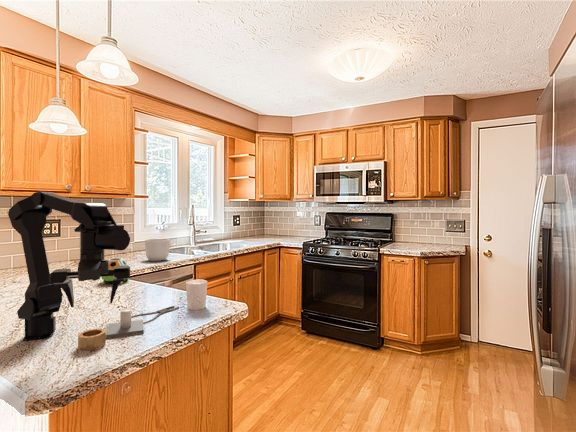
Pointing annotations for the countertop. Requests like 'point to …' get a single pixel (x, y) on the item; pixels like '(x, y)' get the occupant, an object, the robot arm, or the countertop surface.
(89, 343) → the ring
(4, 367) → the countertop surface
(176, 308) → the pliers
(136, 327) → the grey peg stand
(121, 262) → the turtle holder
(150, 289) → the countertop surface
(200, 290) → the white cup
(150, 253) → the planter
